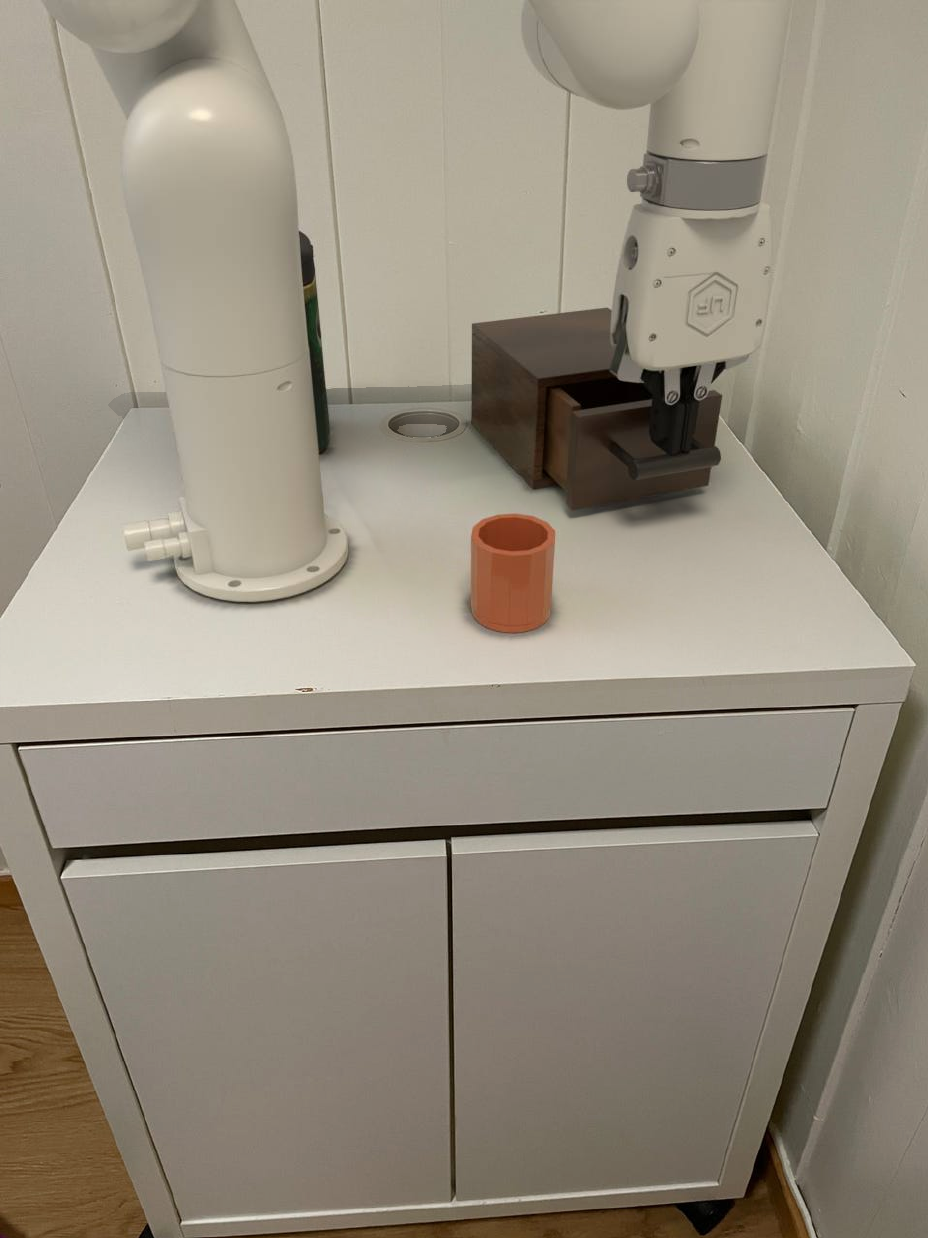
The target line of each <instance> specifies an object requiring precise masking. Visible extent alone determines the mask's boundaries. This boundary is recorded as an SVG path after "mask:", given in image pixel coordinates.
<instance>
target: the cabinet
mask: <svg viewBox="0 0 928 1238" xmlns="http://www.w3.org/2000/svg"><path fill="white" fill-rule="evenodd" d="M611 312H612V308H609V307H601V308H600V307H599V308H592V309H583V310H575V311H567V312H566V311H565V312H558V313H550V314H541V315H531V316H524V317H516V318H515V317H514V318H507V319H499V320H490V321H481V322H473V323H471V400H470V401H471V402H470V403H471V405H470V407H471V409H470V410H471V412H470V413H471V416H470V419H471V420H470V424H471V425H472V426H473V427H474V429H475V430H476V431H477V432H478V433H479V434H480V435H481V436H482V437H483V438H484V439H485V440H486V441H487V442H488V443H489V444H490V445H491V446H492V447H493V449H494V450H495V451H496V452H497V453H498V454H499V455H500V456H501V457H502V458H503V459H504V460H505V461H506V462H507V463H508V465H510V466H511V468H512V469H513V470H514V471H515V472H516V473H517V474H518V475H519V476H520V477H521V478H522V479H523V480H524V482H526V484H527V485H528V486H529V487H530V488H531V489H532V490H538V489H542V488H549V487H554V486H555V487H556V486H560V485H559V484H558V483H557V482H556V481H555V480H554V479H553V478H552V477H551V476H550V475H549V474H548V473H547V472H546V471H545V470H544V469H543V468H542V467H543V447H544V426H545V406H546V387H549V386H556V385H563V384H571V383H578V382H585V381H592V380H599V379H606V378H613V377H615V376H613V375H612V374H611V373H610V371H609V369H610V365H611V361H612V358H613V355H614V351H615V349H614V348H613V347H612V345H611V341H610V326H611Z"/></svg>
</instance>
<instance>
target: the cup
mask: <svg viewBox="0 0 928 1238" xmlns="http://www.w3.org/2000/svg"><path fill="white" fill-rule="evenodd" d="M555 545H556V531H555V529H554V528H553V526H551V524H550V523H548V522H547V521H546V520H543V519H540V518H538V517H536V516H533V515H528V514H521V513H503V514H502V513H501V514H500V513H499V514H495V515H491V516H488V517H486V518H483V519H481V520H480V521H478V522H477V523H476V524H475V525H474V526H472V528H471V535H470V606H471V607H470V608H471V609H470V611H471V615H472V616H473V618H474V620H475V621H476V622H477V623H479V624H480V625H481V626H483V627H485V628H486V629H490V630H492V631H495V632H500V633H509V634H510V633H511V634H517V633H524V632H529V631H532V630H535V629H538V628H539V627H541V626H543V625H544V624H545V623H547V621H548V620H549V618H550V616H551V612H552V611H551V610H552V597H553V579H554V565H555V547H556V546H555Z"/></svg>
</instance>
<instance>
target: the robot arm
mask: <svg viewBox="0 0 928 1238" xmlns="http://www.w3.org/2000/svg"><path fill="white" fill-rule="evenodd" d="M40 1H41V3H42V5H43V6H44V7H45V9H46V11H47V12H48V13H49V14H50V15H51V16H52V17H53V19H54V20H56V22H57V23H58V24H59V25H60V26H61V27H62V28H63V29H64V30H65V31H67V32H68V33H70V34H71V35H72V36H74V37H75V38H77V39H78V40H79V41H81V42H82V43H85V44H86V45H88V46H89V48H90V50H91V52H92V54H93V56H94V58H95V59H96V62H97V64H98V66H99V67H100V70H101V71H102V73H103V76H104V77H105V79H106V81H107V83H108V86H109V87H110V89H111V91H112V93H113V95H114V97H115V99H116V101H117V103H118V105H119V106H120V109H121V111H122V112H123V115H124V117H125V119H126V120H127V121H126V124H125V126H124V130H123V135H122V140H121V150H120V174H121V176H120V177H121V184H122V193H123V198H124V203H125V209H126V213H127V217H128V221H129V225H130V229H131V232H132V237H133V241H134V245H135V249H136V252H137V253H136V254H137V257H138V260H139V264H140V269H141V273H142V276H143V281H144V285H145V290H146V294H147V299H148V304H149V309H150V315H151V320H152V321H151V322H152V327H153V331H154V337H155V341H156V348H157V354H158V358H159V361H160V366H161V372H162V377H163V383H164V388H165V393H166V394H165V395H166V399H167V405H168V410H169V415H170V421H171V428H172V432H173V438H174V444H175V448H176V454H177V460H178V465H179V472H180V476H181V480H182V489H183V494H184V496H180V497H179V498H178V501H179V507H180V510H177V511H172V512H167V517H165V518H160V519H153V520H147V519H146V520H140V521H134V522H133V521H132V522H127V523H122V524H121V526H122V532H123V535H124V541H125V545H126V549H127V551H128V552H129V551H136V550H141V549H142V550H143V549H144V550H145V555H146V559H147V560H146V561H147V562H153V561H157V560H163V559H167V558H169V557H170V558H171V557H173V563H174V569H175V571H176V575H177V577H178V578H179V579H180V580H181V582H182V583H183V584H184V585H185V586H187V587H188V588H190V589H191V590H192V591H194V592H197V593H199V594H201V595H203V596H206V597H209V598H213V599H217V600H221V601H229V602H236V603H237V602H240V603H257V602H269V601H275V600H279V599H280V600H281V599H285V598H290V597H293V596H297V595H300V594H303V593H306V592H308V591H310V590H313V589H314V588H318V587H319V586H321V585H322V584H324V583H326V582H327V581H329V580H330V579H331V578H333V577H334V576H335V575H336V574H337V573H338V572H339V571H340V570H342V568H343V566H344V564H346V562H347V559H348V557H349V539H348V536H347V535H348V534H347V532H346V530H345V529H344V527H343V526H342V524H341V523H339V521H337V520H336V519H334V518H333V517H332V516H331V515H328V514H326V513H325V507H324V506H325V505H324V495H323V486H322V485H323V483H322V474H321V465H320V464H321V463H320V454H319V453H320V452H319V451H318V440H317V429H316V418H315V408H314V397H313V386H312V375H311V364H310V353H309V346H308V337H307V326H306V314H305V304H304V293H303V282H302V270H301V256H300V241H299V231H300V230H299V227H300V226H299V210H298V207H299V206H298V192H297V180H296V172H295V171H296V170H295V163H294V157H293V156H294V155H293V151H292V147H291V141H290V136H289V133H288V130H287V125H286V121H285V118H284V116H283V113H282V110H281V107H280V105H279V102H278V100H277V97H276V96H275V93H274V91H273V88H272V86H271V83H270V80H269V79H268V77H267V74H266V72H265V70H264V67H263V65H262V62H261V60H260V58H259V55H258V53H257V50H256V47H255V45H254V43H253V40H252V38H251V36H250V33H249V31H248V28H247V26H246V24H245V20H244V19H243V15H242V14H241V12H240V9H239V7H238V4H237V2H236V0H40ZM791 7H792V0H523V5H522V10H521V17H520V19H521V20H520V25H521V27H520V30H521V32H520V33H521V37H522V38H521V39H522V43H523V46H524V50H525V52H526V54H527V57H528V58H529V60H530V62H531V64H532V65H533V67H534V68H535V70H536V71H537V72H538V73H539V75H540V76H542V77H543V78H544V79H545V80H547V82H549V83H551V84H552V85H553V86H555V87H557V88H558V89H561V90H563V91H564V92H565V91H566V92H567V93H569V94H572V95H575V96H577V97H579V98H583V99H586V100H588V101H589V102H592V103H593V104H596V105H597V106H601V107H604V108H607V109H611V110H617V111H618V110H619V111H626V110H627V111H628V110H634V109H637V108H642V107H646V106H647V105H649V118H648V128H647V139H646V151H645V153H643V159H642V165H641V166H639V168H631V169H630V170H629V171H628V173H627V177H626V185H627V189H628V191H629V192H631V193H640V194H639V196H640V198H641V203H637V204H634V205H633V206H632V210H631V213H630V216H629V218H628V223H627V226H626V230H625V234H624V237H623V242H622V245H621V250H620V255H619V259H618V264H617V270H616V275H615V276H616V277H615V283H614V289H613V297H612V305H611V310H612V312H611V326H610V341H611V345H612V347H613V348H614V349H615V351H614V355H613V358H612V361H611V365H610V369H609V371H610V373H611V374H612V375H613V376H615V377H616V378H617V379H619V380H621V381H627V382H635V383H639V382H640V383H642V384H643V385H644V386H645V387H646V388H647V390H648V391H649V392H651V393H652V394H653V396H652V405H651V414H650V423H649V435H650V438H651V441H652V442H653V443H654V444H655V445H656V446H658V447H659V448H660V449H662V450H663V451H664V452H665V453H667V454H669V455H676V454H678V452H682V453H687V452H690V450H691V445H692V438H693V435H694V433H695V428H696V421H697V414H698V406H699V400H703V399H704V398H705V397H706V396H707V395H708V392H709V391H710V390H711V385H712V384H713V383H714V382H715V381H716V380H717V379H718V378H719V376H720V375H721V374H722V373H724V371H725V370H729V369H732V368H733V367H737V366H738V365H741V364H743V363H745V362H747V360H748V359H749V357H750V356H751V355H752V354H754V353H756V351H758V349H759V348H760V347H761V345H762V343H763V339H764V334H765V330H766V325H767V316H768V309H769V300H770V293H771V292H770V290H771V279H772V266H773V265H772V262H773V228H772V213H771V206H770V204H768V203H766V202H763V201H761V199H762V192H763V187H764V181H765V172H766V168H767V167H766V166H767V161H768V153H769V146H770V141H771V134H772V127H773V122H774V114H775V110H776V109H775V108H776V102H777V95H778V89H779V84H780V75H781V69H782V64H783V59H784V58H783V57H784V50H785V45H786V39H787V31H788V26H789V21H790V20H789V19H790V13H791Z"/></svg>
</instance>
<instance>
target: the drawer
mask: <svg viewBox="0 0 928 1238" xmlns="http://www.w3.org/2000/svg"><path fill="white" fill-rule="evenodd" d="M652 396H653V394H652V393H651V392H649V391H648V390H647V388H646V387H645V386H644V385H643V384H642V383H640V382H639V383H635V382H627V381H621V380H619V379H617V378H616V377H613V378H606V379H599V380H592V381H585V382H578V383H571V384H563V385H556V386H549V387H546V406H545V426H544V447H543V467H542V468H543V469H544V470H545V471H546V472H547V473H548V474H549V475H550V476H551V477H552V478H553V479H554V480H555V481H556V482H557V483H558V484H559V485H558V486H560V487H561V488H562V489H563V490H564V491H565V506H566V507H568V508H569V510H570V511H577V510H583V509H588V508H589V509H590V508H593V507H598V506H599V507H600V506H605V505H610V504H616V503H621V502H626V501H632V500H637V499H643V498H648V497H649V498H650V497H653V496H660V495H664V494H670V493H676V492H681V491H686V490H692V489H698V488H703V487H708V486H709V484H710V478H711V471H712V468H713V467H717V466H719V465H720V464H721V460H722V454H721V450H720V449H719V447H717V445H716V439H717V433H718V427H719V420H720V413H721V408H722V402H723V401H722V400H723V394H721V393H720V392H718V391H717V390H715V389H712V390H711V389H710V390H709V392H708V395H707V396H706V397H705V398H704V399H703V400H699V406H698V414H697V421H696V428H695V433H694V435H693V438H692V445H691V450H690V452H687V453H682V452H678V454H676V455H669V454H667V453H665V452H664V451H663V450H662V449H660V448H659V447H658V446H656V445H655V444H654V443H653V442H652V441H651V438H650V435H649V423H650V414H651V405H652Z"/></svg>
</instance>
